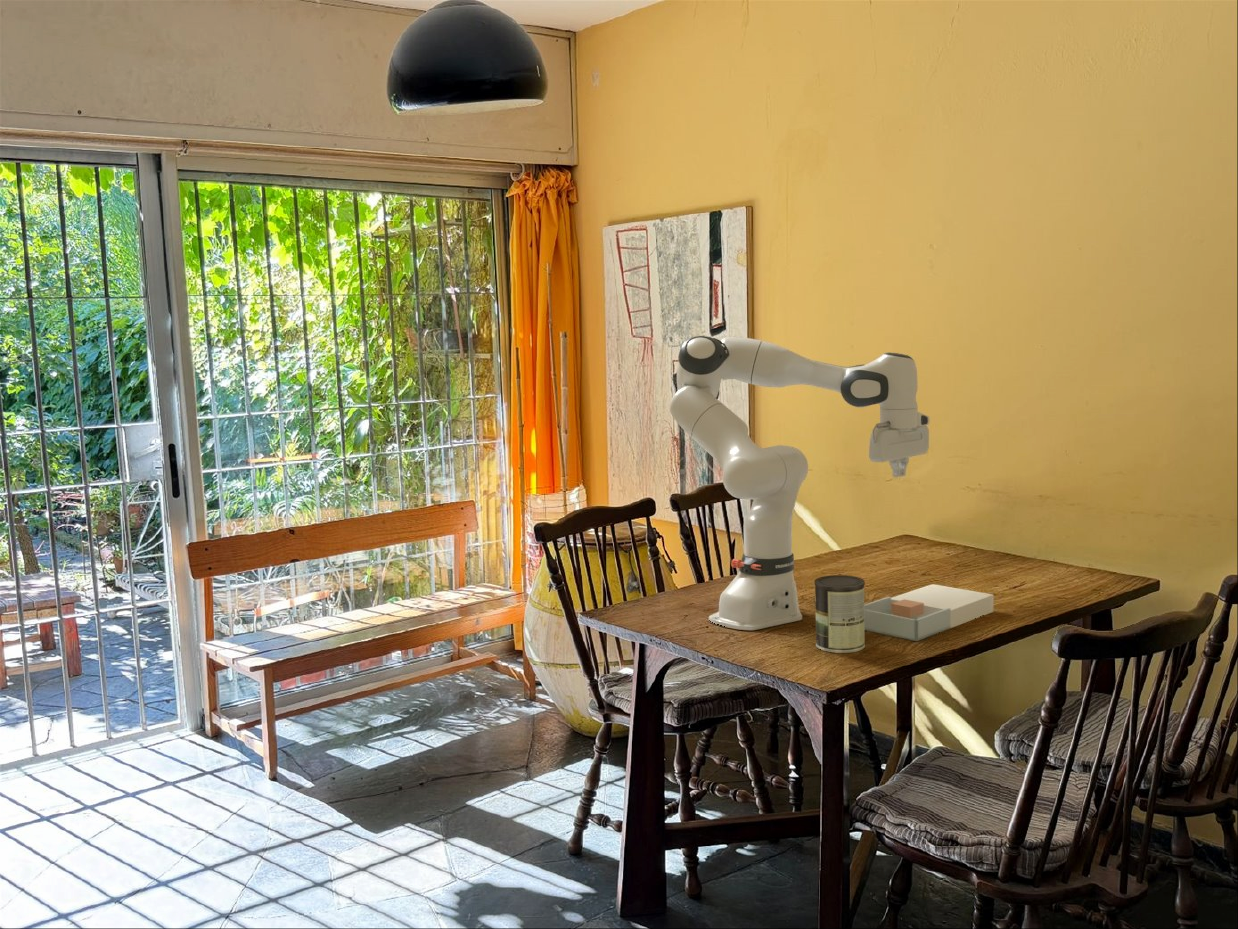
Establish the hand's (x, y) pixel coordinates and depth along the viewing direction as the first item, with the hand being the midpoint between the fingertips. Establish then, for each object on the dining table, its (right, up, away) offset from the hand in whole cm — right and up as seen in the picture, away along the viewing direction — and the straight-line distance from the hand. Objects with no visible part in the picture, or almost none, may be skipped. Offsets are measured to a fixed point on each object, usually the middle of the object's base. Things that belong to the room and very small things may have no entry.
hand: (899, 476), depth 275 cm
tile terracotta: (-5, -30, -26) cm, 40 cm away
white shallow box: (+6, -31, -16) cm, 36 cm away
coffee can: (-22, -35, -37) cm, 56 cm away
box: (-6, -33, -26) cm, 43 cm away
